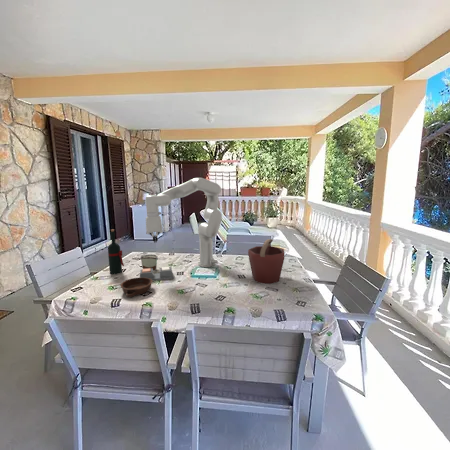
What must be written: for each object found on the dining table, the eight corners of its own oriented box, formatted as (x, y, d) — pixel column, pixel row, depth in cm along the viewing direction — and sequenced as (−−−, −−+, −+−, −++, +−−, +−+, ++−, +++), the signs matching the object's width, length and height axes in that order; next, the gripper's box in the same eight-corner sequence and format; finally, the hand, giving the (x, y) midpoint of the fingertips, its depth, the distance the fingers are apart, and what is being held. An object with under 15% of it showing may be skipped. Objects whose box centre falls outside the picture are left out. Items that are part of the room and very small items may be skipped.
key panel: (172, 273, 175) (172, 266, 174) (173, 278, 166) (173, 270, 165) (139, 276, 170) (139, 269, 169) (139, 281, 160) (138, 274, 159)
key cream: (169, 271, 172) (169, 266, 171) (169, 273, 167) (169, 269, 167) (161, 271, 171) (161, 267, 170) (161, 274, 166) (161, 269, 165)
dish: (157, 283, 159) (156, 275, 158) (147, 299, 137) (146, 290, 136) (129, 283, 159) (128, 275, 158) (114, 299, 137) (113, 290, 136)
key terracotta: (150, 272, 169) (150, 268, 168) (150, 275, 164) (150, 270, 163) (142, 273, 167) (142, 269, 167) (142, 276, 163) (142, 271, 162)
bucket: (260, 270, 180) (261, 234, 176) (291, 276, 167) (292, 238, 163) (242, 281, 160) (242, 241, 156) (275, 289, 148) (276, 247, 143)
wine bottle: (121, 274, 173) (117, 230, 168) (107, 274, 174) (103, 230, 169) (127, 270, 181) (124, 228, 175) (113, 270, 182) (110, 228, 177)
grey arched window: (160, 267, 186) (160, 254, 185) (157, 270, 180) (157, 256, 179) (144, 267, 188) (143, 254, 186) (140, 270, 182) (140, 256, 180)
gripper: (164, 213, 172) (166, 239, 176) (141, 214, 168) (143, 242, 172) (165, 214, 165) (167, 242, 169) (140, 216, 161) (143, 244, 165)
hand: (155, 242), depth 170 cm, fingers closed
